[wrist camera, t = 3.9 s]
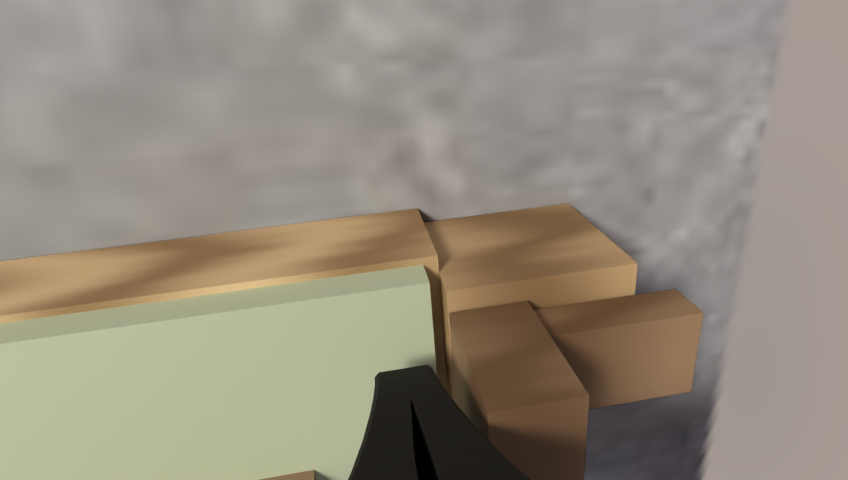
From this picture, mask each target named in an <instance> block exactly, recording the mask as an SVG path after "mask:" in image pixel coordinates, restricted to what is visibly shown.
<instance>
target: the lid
mask: <svg viewBox="0 0 848 480" xmlns="http://www.w3.org/2000/svg"><path fill="white" fill-rule="evenodd" d="M421 365H429V366H430V367H432V368H433V370H434V372H435V374H436V375H437V370H436V358H435V345H434V332H433V320H432V307H431V294H430V283H429V280H428V277H427V274H426V271H425V269H424V266H423V265H417V266H410V267H403V268H395V269H388V270H381V271H374V272H367V273H359V274H352V275H345V276H338V277H331V278H323V279H316V280H309V281H302V282H295V283H287V284H280V285H273V286H266V287H259V288H251V289H244V290H237V291H230V292H223V293H215V294H208V295H201V296H194V297H187V298H179V299H172V300H165V301H158V302H151V303H144V304H136V305H129V306H122V307H115V308H108V309H100V310H93V311H86V312H79V313H72V314H64V315H57V316H50V317H43V318H36V319H28V320H21V321H14V322H7V323H0V480H348V479H349V476H350V474H351V471H352V469H353V466H354V463H355V460H356V458H357V455H358V452H359V449H360V446H361V444H362V441H363V437H364V434H365V430H366V427H367V423H368V419H369V416H370V411H371V407H372V402H373V396H374V388H375V376H376V375H377V374H378V373H379V372H385V371H391V370H397V369H403V368H409V367H415V366H421Z"/></svg>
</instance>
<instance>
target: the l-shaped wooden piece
mask: <svg viewBox="0 0 848 480" xmlns="http://www.w3.org/2000/svg"><path fill="white" fill-rule="evenodd" d="M449 318H450V334H451V350H452V365H453V381H454V397H455V403H456V404H457V405H458V406H459V408H460V409H461V410H462V411H463V412H464V414H465V415H466V416H467V417H468V418H469V420H470V421H471V422H472V423H473V424H474V425H475V426H476V428H477V429H478V430H479V431H480V432H481V433H482V434H483V435H484V436H485V437H486V438H487V439H488V440H489V441H490V442H491V443H492V445H493V446H494V447H495V448H496V449H497V450H499V451H500V452H501V453H502V454H503V455H504V456H505V457H506V458H507V459H508V460H509V461H510V462H511V463H512V464H514V465H515V466H516V467H517V468H518V469H519V470H520V471H522V472H523V473H524V474H525V475H526V476H528V477H529V478H530V479H531V480H584V471H585V455H586V440H587V425H588V410H589V409H595V408H600V407H606V406H612V405H617V404H623V403H629V402H634V401H640V400H646V399H651V398H657V397H663V396H668V395H674V394H680V393H686V392H691V387H692V381H693V375H694V368H695V362H696V356H697V350H698V344H699V338H700V331H701V325H702V319H703V312H702V311H701V310H700V309H699V308H697V307H696V306H695V305H694V304H693V303H691V302H690V301H689V300H688V299H687V298H685V297H684V296H683V295H682V294H681V293H679V292H678V291H677V290H676V289H670V290H664V291H657V292H651V293H644V294H638V295H631V296H624V297H618V298H611V299H605V300H598V301H592V302H585V303H578V304H572V305H565V306H559V307H552V308H546V309H539V310H533V309H532V307H531V306H530V304H529V303H528V301H524V302H518V303H511V304H504V305H498V306H491V307H484V308H478V309H471V310H464V311H458V312H451V313H449Z"/></svg>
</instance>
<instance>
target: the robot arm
mask: <svg viewBox="0 0 848 480" xmlns="http://www.w3.org/2000/svg"><path fill="white" fill-rule="evenodd" d="M348 480H531V479H530V478H529V477H528V476H526V475H525V474H524V473H523V472H522V471H520V470H519V469H518V468H517V467H516V466H515V465H514V464H512V463H511V462H510V461H509V460H508V459H507V458H506V457H505V456H504V455H503V454H502V453H501V452H500V451H499V450H497V449H496V448H495V447H494V446H493V445H492V443H491V442H490V441H489V440H488V439H487V438H486V437H485V436H484V435H483V434H482V433H481V432H480V431H479V430H478V429H477V428H476V426H475V425H474V424H473V423H472V422H471V421H470V420H469V418H468V417H467V416H466V415H465V414H464V412H463V411H462V410H461V409H460V408H459V406H458V405H457V404H456V403H455V401H454V400H453V399H452V397H451V396H450V395H449V393H448V392H447V391H446V389H445V388H444V386H443V385H442V383H441V382H440V380H439V379H438V377H437V375H436V374H435V372H434V370H433V368H432V367H430V366H429V365H421V366H415V367H409V368H403V369H397V370H391V371H385V372H379V373H378V374H377V375H376V376H375V388H374V396H373V402H372V407H371V411H370V416H369V419H368V423H367V427H366V430H365V434H364V437H363V441H362V444H361V446H360V449H359V452H358V455H357V458H356V460H355V463H354V466H353V469H352V471H351V474H350V476H349V479H348Z"/></svg>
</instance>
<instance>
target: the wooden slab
mask: <svg viewBox="0 0 848 480" xmlns="http://www.w3.org/2000/svg"><path fill="white" fill-rule="evenodd" d="M417 265H423V266H424V269H425V271H426V274H427V277H428V280H429V283H430V294H431V307H432V320H433V332H434V345H435V358H436V370H437V377H438V379H439V380H440V382H441V383H442V385H443V386H444V388H445V389H446V391H447V392H448V393H449V395H450V396H451V397H452V399H453V400H454V401H455V397H454V381H453V365H452V350H451V334H450V318H449V313H451V312H458V311H464V310H471V309H478V308H484V307H491V306H498V305H504V304H511V303H518V302H524V301H528V303H529V304H530V306H531V307H532V309H533V310H539V309H546V308H552V307H559V306H565V305H572V304H578V303H585V302H592V301H598V300H605V299H611V298H618V297H624V296H631V295H635V287H636V277H637V267H638V263H637V262H636V261H634V260H633V259H632V258H631V257H630V256H629V255H627V254H626V253H625V252H624V251H623V250H622V249H621V248H619V247H618V246H617V245H616V244H615V243H614V242H612V241H611V240H610V239H609V238H608V237H607V236H605V235H604V234H603V233H602V232H601V231H600V230H598V229H597V228H596V227H595V226H594V225H593V224H591V223H590V222H589V221H588V220H587V219H586V218H584V217H583V216H582V215H581V214H580V213H579V212H577V211H576V210H575V209H574V208H573V207H572V206H570V205H569V204H562V205H554V206H546V207H539V208H531V209H523V210H516V211H508V212H500V213H492V214H485V215H477V216H469V217H462V218H454V219H446V220H439V221H431V222H423V220H422V217H421V215H420V213H419V210H418V209H410V210H402V211H394V212H386V213H378V214H370V215H363V216H355V217H347V218H339V219H331V220H323V221H315V222H307V223H300V224H292V225H284V226H276V227H268V228H260V229H252V230H244V231H237V232H229V233H221V234H213V235H205V236H197V237H189V238H181V239H174V240H166V241H158V242H150V243H142V244H134V245H126V246H118V247H110V248H103V249H95V250H87V251H79V252H71V253H63V254H55V255H47V256H40V257H32V258H24V259H16V260H8V261H0V323H7V322H14V321H21V320H28V319H36V318H43V317H50V316H57V315H64V314H72V313H79V312H86V311H93V310H100V309H108V308H115V307H122V306H129V305H136V304H144V303H151V302H158V301H165V300H172V299H179V298H187V297H194V296H201V295H208V294H215V293H223V292H230V291H237V290H244V289H251V288H259V287H266V286H273V285H280V284H287V283H295V282H302V281H309V280H316V279H323V278H331V277H338V276H345V275H352V274H359V273H367V272H374V271H381V270H388V269H395V268H403V267H410V266H417Z"/></svg>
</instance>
